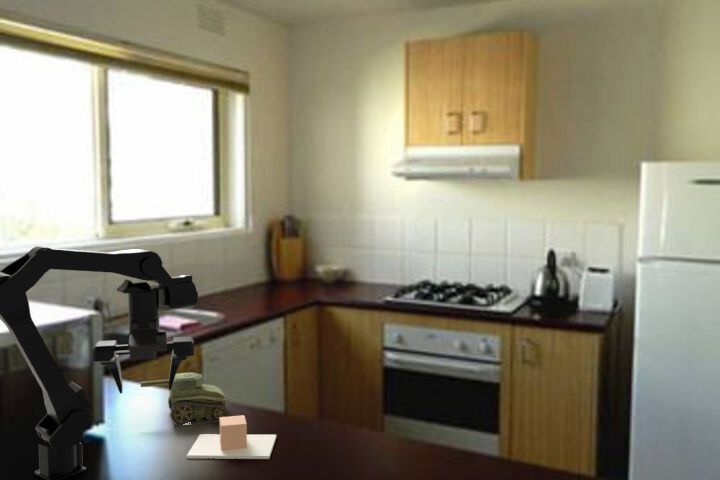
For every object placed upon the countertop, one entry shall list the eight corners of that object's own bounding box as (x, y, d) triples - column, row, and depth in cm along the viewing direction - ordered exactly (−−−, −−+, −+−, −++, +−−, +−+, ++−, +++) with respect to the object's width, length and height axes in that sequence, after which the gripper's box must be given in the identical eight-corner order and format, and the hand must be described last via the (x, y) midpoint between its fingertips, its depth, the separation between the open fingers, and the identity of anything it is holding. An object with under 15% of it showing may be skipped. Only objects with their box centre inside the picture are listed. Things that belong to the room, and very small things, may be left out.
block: (221, 450, 133) (220, 425, 132) (219, 441, 138) (219, 417, 137) (246, 448, 134) (246, 423, 134) (244, 438, 139) (244, 415, 139)
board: (186, 458, 131) (186, 455, 130) (200, 436, 141) (200, 434, 141) (269, 458, 130) (269, 455, 130) (276, 437, 141) (276, 434, 141)
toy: (141, 415, 155) (140, 373, 154) (222, 407, 161) (221, 366, 160) (142, 430, 145) (141, 385, 144) (228, 421, 151) (228, 377, 151)
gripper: (87, 324, 122) (90, 408, 123) (193, 319, 127) (195, 400, 128) (95, 312, 133) (97, 390, 134) (192, 308, 137) (193, 383, 139)
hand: (145, 391), depth 133 cm, fingers open, 9 cm apart
